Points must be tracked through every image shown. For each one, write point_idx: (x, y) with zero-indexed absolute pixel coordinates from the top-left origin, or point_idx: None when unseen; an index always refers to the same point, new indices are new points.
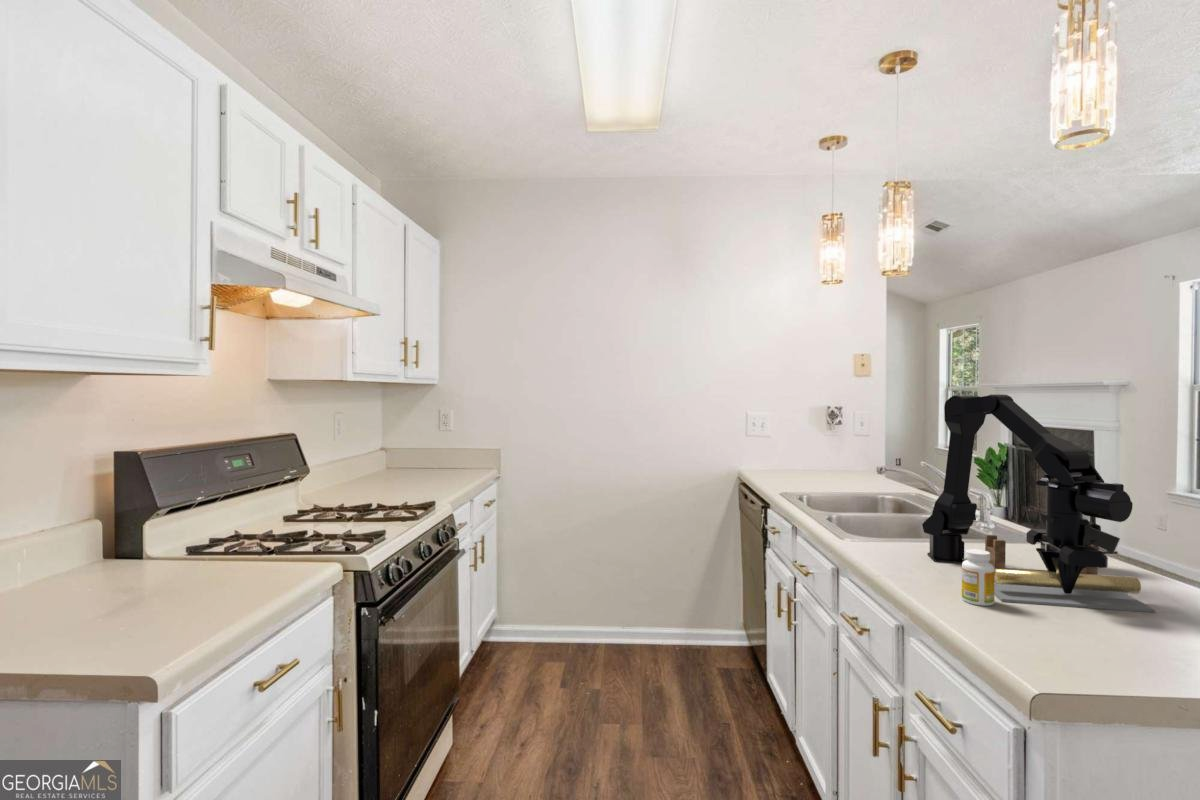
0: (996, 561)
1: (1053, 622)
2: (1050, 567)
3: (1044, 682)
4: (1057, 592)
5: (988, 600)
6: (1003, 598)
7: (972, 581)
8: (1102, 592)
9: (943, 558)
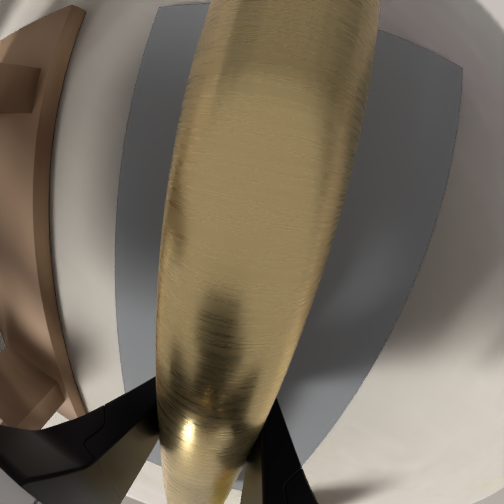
0: (41, 425)
1: (422, 470)
2: (133, 472)
3: (500, 486)
4: None
5: None
6: None
7: None
8: (157, 114)
9: None
